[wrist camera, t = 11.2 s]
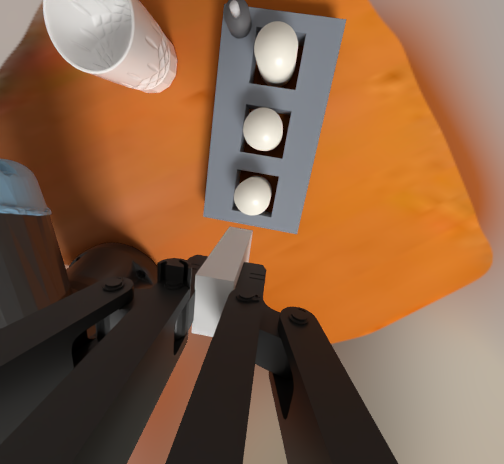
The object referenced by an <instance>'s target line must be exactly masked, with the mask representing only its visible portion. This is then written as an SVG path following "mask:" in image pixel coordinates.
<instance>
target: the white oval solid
mask: <svg viewBox="0 0 504 464" xmlns="http://www.w3.org/2000/svg"><path fill="white" fill-rule="evenodd" d="M243 133H244V137H245V140H246V141H247V143H248V144H249V145H250V146H251V147H253V148H254V149H257V150H261V151H270V150H273V149H274V148H276V147H277V146H278V145H279V143H280V142H281V140H282V136H283V125H282V121H281V118H280V117H279V115H278V114H277V113H276V112H275V111H274V110H272V109H269V108H264V107H263V108H258V109H255V110H253V111H252V112H251V113H250V114H249V115H248V116H247V118H246V119H245V122H244V126H243Z"/></svg>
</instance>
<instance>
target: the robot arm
mask: <svg viewBox="0 0 504 464" xmlns="http://www.w3.org/2000/svg"><path fill="white" fill-rule="evenodd" d="M51 214H52V213H51V209H49V208H48V207H47V206H46V203H45V200H44V197H43V195H42V192H41V189H40V187H39V184H38V181H37V179H36V177H35V175H34V174H33V172H32V171H31V170H29V169H28V168H27V167H25V166H24V165H22V164H20V163H18V162H15V161H12V160H7V159H0V464H127V462H128V460H129V458H130V456H131V454H132V452H133V450H134V448H135V446H136V444H137V442H138V440H139V437H140V436H141V434H142V432H143V430H144V428H145V426H146V423H147V422H148V420H149V417H150V415H151V413H152V412H153V410H154V408H155V405H156V403H157V402H158V400H159V397H160V395H161V393H162V391H163V389H164V387H165V385H166V383H167V381H168V379H169V377H170V375H171V373H172V371H173V369H174V367H175V365H176V363H177V361H178V359H179V357H180V355H181V353H182V351H183V349H184V347H185V345H186V343H187V340H188V330H189V328H190V326H191V324H192V333H195V334H200V335H205V336H211V337H213V338H212V341H211V343H210V346H209V349H208V351H207V354H206V357H205V359H204V362H203V365H202V367H201V370H200V373H199V375H198V378H197V381H196V384H195V386H194V389H193V391H192V394H191V397H190V399H189V402H188V405H187V407H186V410H185V413H184V416H183V418H182V421H181V423H180V426H179V429H178V431H177V434H176V437H175V439H174V442H173V445H172V447H171V450H170V453H169V455H168V458H167V461H166V463H165V464H243V455H244V447H245V440H246V432H247V424H248V416H249V408H250V400H251V391H252V384H253V376H254V367H255V364H257V365H259V366H261V367H262V368H264V369H266V370H268V371H269V379H270V383H271V388H272V393H273V398H274V402H275V407H276V412H277V416H278V421H279V426H280V430H281V435H282V439H283V444H284V449H285V454H286V458H287V463H288V464H398V463H397V461H396V459H395V457H394V455H393V454H392V452H391V450H390V448H389V447H388V445H387V443H386V441H385V439H384V438H383V436H382V434H381V432H380V430H379V429H378V427H377V425H376V424H375V422H374V420H373V418H372V416H371V414H370V413H369V411H368V409H367V408H366V406H365V404H364V402H363V400H362V399H361V397H360V395H359V393H358V391H357V390H356V388H355V386H354V384H353V383H352V381H351V379H350V377H349V376H348V374H347V372H346V370H345V368H344V367H343V365H342V363H341V361H340V359H339V358H338V356H337V354H336V352H335V351H334V349H333V347H332V345H331V344H330V342H329V340H328V338H327V336H326V335H325V333H324V331H323V329H322V328H321V326H320V324H319V322H318V320H317V319H316V318H315V316H314V315H313V314H312V313H310V312H309V311H307V310H305V309H302V308H299V307H287V308H285V309H283V310H282V311H281V313H280V312H277V311H275V310H273V309H271V308H270V307H268V306H267V305H266V304H265V303H264V301H263V291H264V283H265V275H266V269H265V268H264V266H263V265H259V264H254V263H248V261H249V254H250V247H251V239H252V232H253V230H247V229H241V228H234V227H229V228H228V230H227V231H226V232H225V234H224V235H223V237H222V238H221V239H220V241H219V242H218V244H217V245H216V247H215V248H214V249H213V251H212V252H211V254H210V255H209V256H202V255H195V256H193V257H190V258H189V259H188V260H184V259H178V258H171V259H165V260H162V261H160V262H158V266H156V265H155V264H154V262H153V261H152V260H151V259H150V258H149V257H147V256H146V255H145V254H143V253H142V252H141V251H139V250H137V249H135V248H133V247H131V246H128V245H125V244H120V243H104V244H100V245H97V246H95V247H93V248H91V249H89V250H87V251H85V252H83V253H81V254H80V255H79V256H78V257H76V258H75V260H74V261H73V262H72V263H71V265H70V266H69V268H67V269H66V268H65V265H64V262H63V258H62V255H61V252H60V248H59V245H58V242H57V238H56V235H55V232H54V228H53V225H52V222H51V218H50V215H51Z"/></svg>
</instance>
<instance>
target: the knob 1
mask: <svg viewBox="0 0 504 464" xmlns="http://www.w3.org/2000/svg"><path fill="white" fill-rule="evenodd" d="M271 195H272V187H271V185H270V183H269V181H268V180H267V179H266V178H264V177H262V176H257V175H256V176H251V177H249V178H247V179H246V180H244V181H243V182H241V183H240V184H239V185H238V186H237V188H236V190H235V193H234V201H235V204H236V206H237V208H238V209H239V210H240V211H241V212H242V213H244V214H247V215H258V214H261V213H262V212H264V211H265V210H266V208H267V207H268V205H269V202H270V199H271Z"/></svg>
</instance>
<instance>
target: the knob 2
mask: <svg viewBox="0 0 504 464" xmlns="http://www.w3.org/2000/svg"><path fill="white" fill-rule="evenodd" d="M297 51H298V40H297V36H296V33H295V31H294V30H293V29H292V27H291V26H289V25H288V24H286V23H284V22H281V21H275V22H271V23H269V24H267V25H265V26H264V27H263V28H262V29H261V30H260V32H259V33H258V35H257V37H256V40H255V45H254V53H255V58H256V61H257V65H258V69H259V72H260V76H261V78H262V80H263V81H264V82H265V83H266V84H267V85H269V86H272V87H280V86H283V85H285V84H286V83H287V82H289V80H290V79H291V78H292V76H293V74H294V71H295V65H296V58H297Z"/></svg>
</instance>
